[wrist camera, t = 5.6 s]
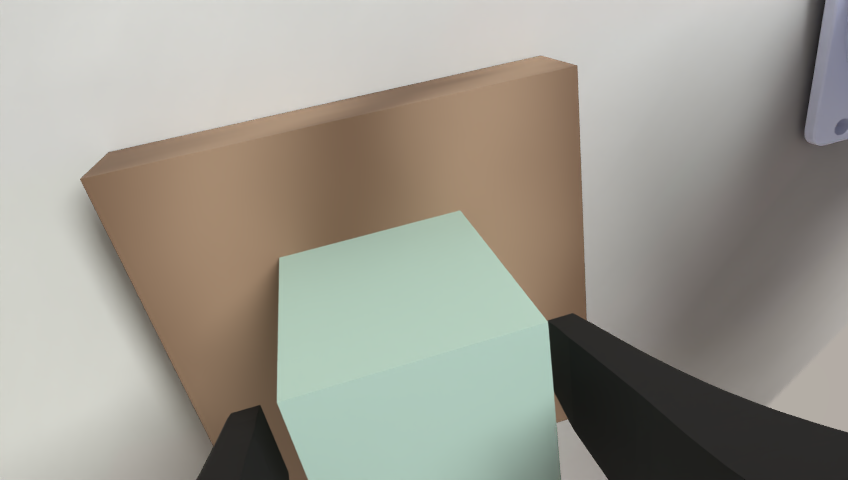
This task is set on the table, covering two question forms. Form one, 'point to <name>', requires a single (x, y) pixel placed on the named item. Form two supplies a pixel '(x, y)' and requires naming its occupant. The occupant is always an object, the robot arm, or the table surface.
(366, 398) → the sage block
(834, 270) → the table surface
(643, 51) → the table surface
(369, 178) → the walnut base
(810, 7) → the table surface
